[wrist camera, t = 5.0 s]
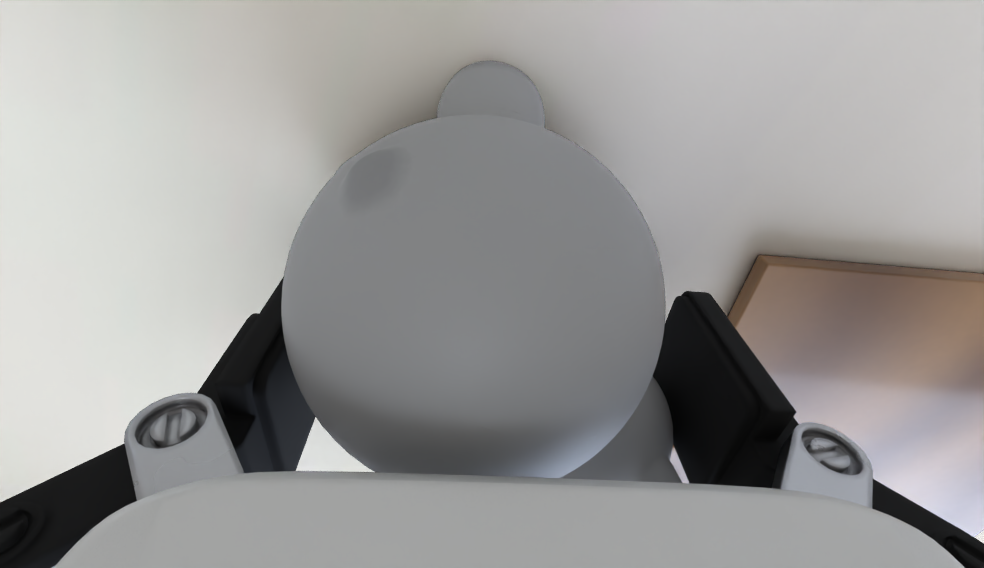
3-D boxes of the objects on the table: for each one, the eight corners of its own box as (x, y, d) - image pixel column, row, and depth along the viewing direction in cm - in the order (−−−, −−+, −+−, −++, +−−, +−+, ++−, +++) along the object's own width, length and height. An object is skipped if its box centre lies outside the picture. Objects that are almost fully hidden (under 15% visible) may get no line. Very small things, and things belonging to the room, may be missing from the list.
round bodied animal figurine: (517, 407, 18) (535, 675, 11) (299, 163, 13) (59, 402, 6) (690, 335, 16) (845, 611, 9) (524, 1, 10) (599, 56, 3)
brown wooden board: (1264, 296, 15) (1290, 307, 15) (905, 570, 27) (914, 582, 26) (758, 253, 14) (768, 263, 14) (606, 558, 26) (608, 570, 25)
